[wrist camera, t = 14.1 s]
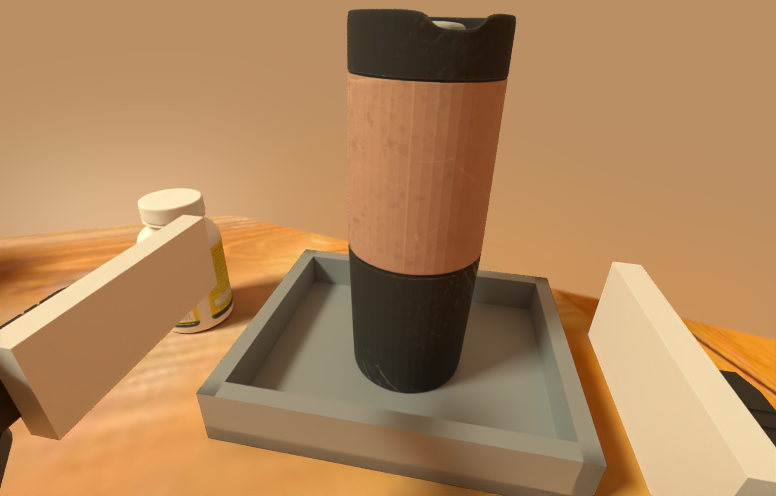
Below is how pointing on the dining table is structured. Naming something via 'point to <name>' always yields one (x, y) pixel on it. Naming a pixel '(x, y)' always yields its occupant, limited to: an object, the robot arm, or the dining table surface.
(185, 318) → the supplement bottle
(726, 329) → the dining table surface
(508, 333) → the tray
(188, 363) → the dining table surface
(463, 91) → the travel mug
